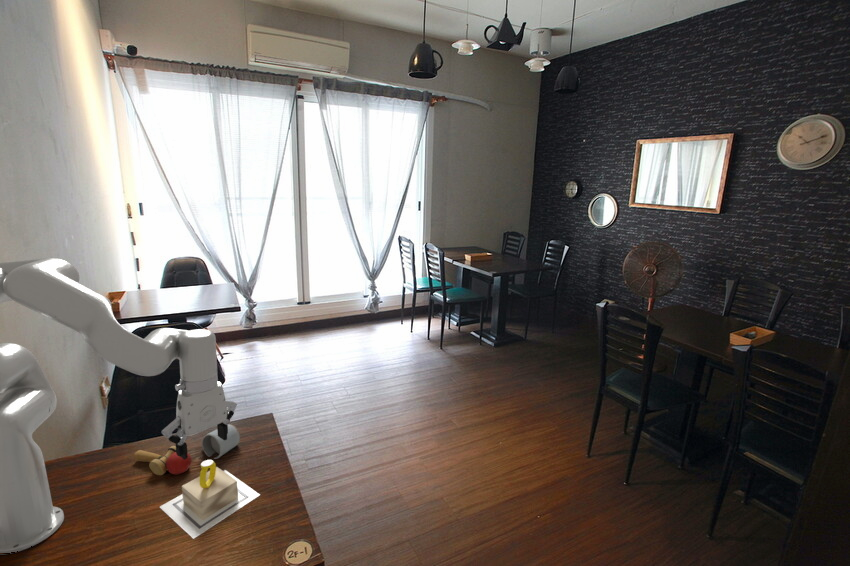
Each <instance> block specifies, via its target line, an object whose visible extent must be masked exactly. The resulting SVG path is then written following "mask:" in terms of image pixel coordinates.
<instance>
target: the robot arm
mask: <svg viewBox="0 0 850 566" xmlns="http://www.w3.org/2000/svg"><path fill="white" fill-rule="evenodd" d="M12 301H13V302H15V303H17V304H19V305H21V306H22V307H25V308H27V309H29V310H31V311H33V312H35V313H38V314H40V315H43V316H44V317H46V318H48V319H51V320H53V321H54V322H57V323H58V324H60V325H63V326H65V327H66V328H69V329H71V330H74V331H75V332H76V333H78V334H79V335H80V336H81V337H82V339H83V340H84V341H85V342H86V344H87V345H88V347H90V348H91V349H92V350H93V351H94V352H95V353H96V354H97V355H98V356H99V357H101V358H102V359H103V360H105V361H106V362H108V363H110V364H112V365H115V366H116V367H118V368H120V369H123V370H125V371H127V372H129V373H132V374H135V375H138V376H142V377H143V376H144V377H154V376H158V375H161V374H162V373H164V372H165V371H166V370H167V369H168V368H169V366H170V365H171V364H172V362H173V361H175V360H179V374H180V375H179V376H180V379H179V383H178V384H175V385H174V388H175V391H177V392H178V394H177V400H176V409H175V411H176V412H175V414H176V415H175V418H174V420H173V421H171V422H170V423H168V425H167V426H166V427H164V428H163V429H162V430H161V432H160V433H161V434H162V435H163V436H164V437H165V438H166V439H167V440H168V441H169V442H170V443H172V444H173V443H174V444H175V446H176V454H177V455H178V456H180V457H181V458H183V459H184V460H185V459H187V458H188V455H187V453H188V443H186V440H187V438H188V437H191V436H194V435H196V434H199V433H202V432H205V431H207V430H208V429H211V428H213V427H217V428H216V429H217V430H218V437H220V438H221V439H223V440H227V434H228V424H231V419H232V417H233V416H234V414H235V411H236V408H237V405H238V403H237V402H235V401H231V400H227V399H226V395H225V392H224V391H225V390H224V388H223V384H222V382H221V381H218V380H219V379H218V361H217V360H218V359H217V338H216V335H215V333H214V332H213V331H212V330H209V329H205V328H198V329H197V328H196V329H190V330H187V329H178V328H171V327H161V328H160V327H159V328H156V329H154V330H152V331H150V333H149V334H148V335H146V336H144V338H142V337H140V336H138V335H137V334H134V333H132V332H131V331H129V330H128V329H126V328H125V327H124V326H122V324H120V323H119V322H118V320H117V319H116V317H115V315H114V312H113V306H112V303H111V300H110V299H109V298H108V297H107V296H104V295H103V294H101V293H98V292H97V291H94V290H93V289H91V288H89V287H87V286H85V285H83V284H81V283H80V274H79V271H78V270H77V268H76V267H75V266H74V265H73V264H71V263H70V262H69V261H66V260H63V259H61V258H57V257H56V258H55V257H46V258H36V259H35V258H34V259H27V260H18V261H17V260H15V261H6V262H0V304H3V303H6V302H12ZM57 402H58V401H57V396H56V392H55V391H54V389H53V387H52V385H51V382H50V381H49V379H48V377H47V375H46V373H45V372H44V370H43V368H42V366H41V364H40V362H39V360H38V359H37V357H36V356H35V355H34V354H33V352H31V350H29V349H28V348H27V347H24V346H23V345H20V344H18V343H15V342H14V343H13V342H2V343H1V342H0V553H10V554H12V553H11V552H15V553H18V552H21V551H24V550H27V549H29V548H31V546H32V547H33V546H36V545H37V544H40V543H42V542H43V541H45V540H46V539H48V538H49V537H50V536H51V535H53V534H54V533H55V532H56V531H58V529H59V528H60V527H61V525H62V524H63V522H64V520H65V514H64V511H63V509H61V508H60V507H58V506H53V501H52V495H51V490H50V485H49V479H48V475H47V469H46V464H45V459H44V455H43V452H42V450H41V447H40V446H39V445H38V444H37V443H36V442H35V441H34V439H33V433H34V432H35V431H36V430H38V428H39V427H40V426H41V425H42V424H43V423H44V422H45V421H47V419H48V418H49V417H51V415H52V414H53V413H54V411H55V410H56V408H57V404H58V403H57ZM176 429H177V431H176V433H175V434H173V432H174V431H175V430H176ZM17 551H18V552H17Z"/></svg>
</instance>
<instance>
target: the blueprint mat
mask: <svg viewBox="0 0 850 566" xmlns="http://www.w3.org/2000/svg"><path fill="white" fill-rule="evenodd" d="M223 471H224V472H225V473H226V474H228V475H229V476H231V477H232V478H233V479H235V480H236V481H237V489H238V498H237V499H236V500H234V501H233V502H231V503H229V504H228V505H226V506H225V507H223V508H222V509H220V510H218V511H217V512H215V513H214V514H212V515H211V516H209V517H207V518H206V519H204V520H202V519H201V518H200V517H199V516H197V515H196V514H195V513H194V512H193V511H192V510H191V509H189V508H188V507H187V506H186V505H185V504H184V503H183V494H180V495H178V496H177V497H174V498H173V499H171V500H169V501H167V502H166V503H164V504H161V505H160V506H159V508H160V509H161V510H162V512H164V513H165V514H166V515H167V516H168V517H170V518H171V519H172V520H173V521H174V522H175V523H176V525H178V527H180V528H181V529H182V530H183V531H184V532H185V533H187V535H189V537H191V538H192V539H193V540H195V539H196V538H198V537H199V536H200V535H202V534H203V533H205V532H206V531H208V530H210V529H211V528H213V527H214V526H215V525H217V524H219V523H221V522H222V521H223V520H225V519H226V518H228V517H229V516H232V514H234V513H236V512H237V511H238V510H240V509H241V508H243V507H244V506H246V505H248V504H249V503H250V502H252V501H253V500H255V499H257V498H258V497H259V496H261V494H260V493H259V492H257V491H256V490H254V489H253V488H251V487H250V486H249V485H247V484H246V483H245V482H243V481H242V480H240V478H238V477H236V476H235V475H233V474H232V473H230V472H229V471H228V470H226V469H224V470H223Z"/></svg>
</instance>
